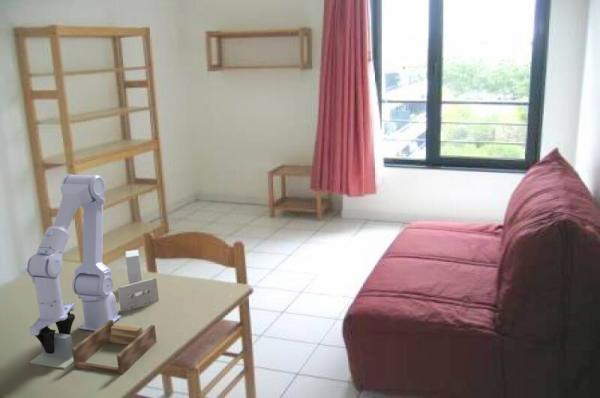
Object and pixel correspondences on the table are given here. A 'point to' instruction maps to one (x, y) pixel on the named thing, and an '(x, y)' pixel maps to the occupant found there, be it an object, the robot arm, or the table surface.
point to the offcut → (124, 333)
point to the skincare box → (133, 266)
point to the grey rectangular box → (61, 347)
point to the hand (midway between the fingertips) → (57, 347)
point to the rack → (123, 358)
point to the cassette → (140, 299)
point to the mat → (52, 361)
